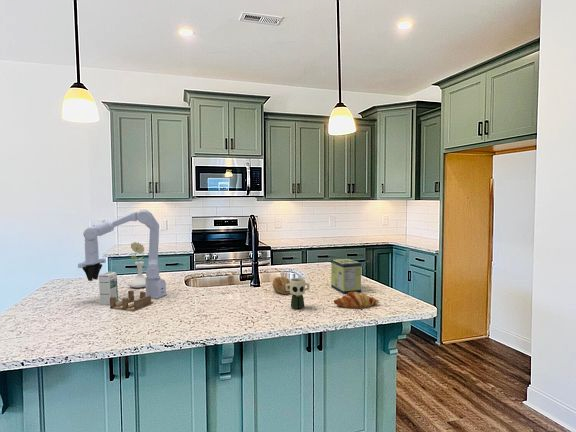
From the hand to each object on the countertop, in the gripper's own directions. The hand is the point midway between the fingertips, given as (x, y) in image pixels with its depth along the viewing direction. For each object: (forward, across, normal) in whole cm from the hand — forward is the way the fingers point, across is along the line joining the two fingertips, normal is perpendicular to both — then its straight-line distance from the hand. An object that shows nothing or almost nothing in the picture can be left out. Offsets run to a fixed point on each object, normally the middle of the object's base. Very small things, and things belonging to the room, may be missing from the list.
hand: (92, 279), depth 182 cm
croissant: (+11, -32, +122) cm, 127 cm away
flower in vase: (+11, -30, +2) cm, 32 cm away
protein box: (+11, -59, +112) cm, 127 cm away
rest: (+10, 0, +23) cm, 25 cm away
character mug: (+11, -21, +98) cm, 100 cm away
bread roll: (+11, -44, +82) cm, 93 cm away
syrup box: (+11, 0, +10) cm, 14 cm away
